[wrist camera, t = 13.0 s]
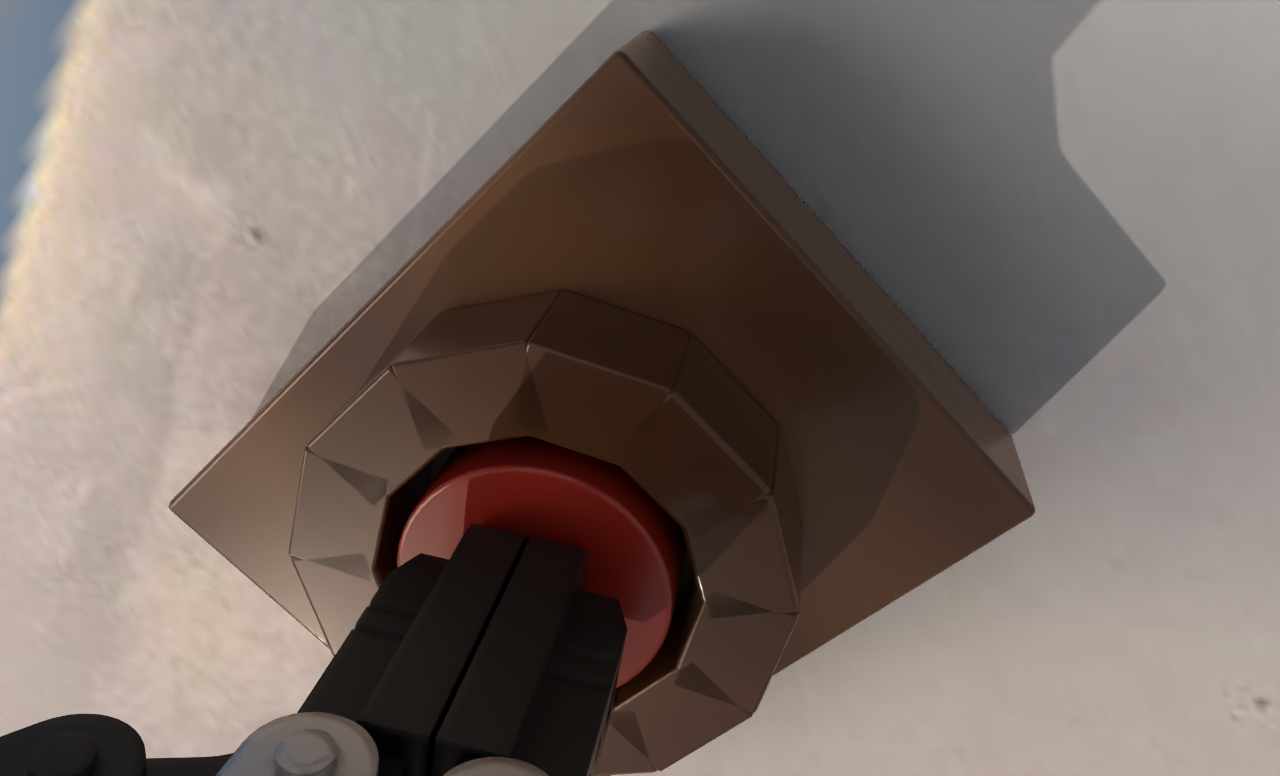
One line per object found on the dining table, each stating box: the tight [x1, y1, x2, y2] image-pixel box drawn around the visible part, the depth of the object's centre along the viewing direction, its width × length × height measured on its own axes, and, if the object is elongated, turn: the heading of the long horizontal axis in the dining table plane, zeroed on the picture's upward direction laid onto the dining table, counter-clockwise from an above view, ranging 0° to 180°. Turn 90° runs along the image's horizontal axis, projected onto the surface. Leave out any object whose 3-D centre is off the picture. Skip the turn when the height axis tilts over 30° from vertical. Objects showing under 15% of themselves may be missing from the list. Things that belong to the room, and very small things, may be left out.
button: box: [397, 436, 687, 688], centre depth 14 cm, size 4×4×2 cm
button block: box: [169, 30, 1036, 776], centre depth 15 cm, size 10×8×4 cm
